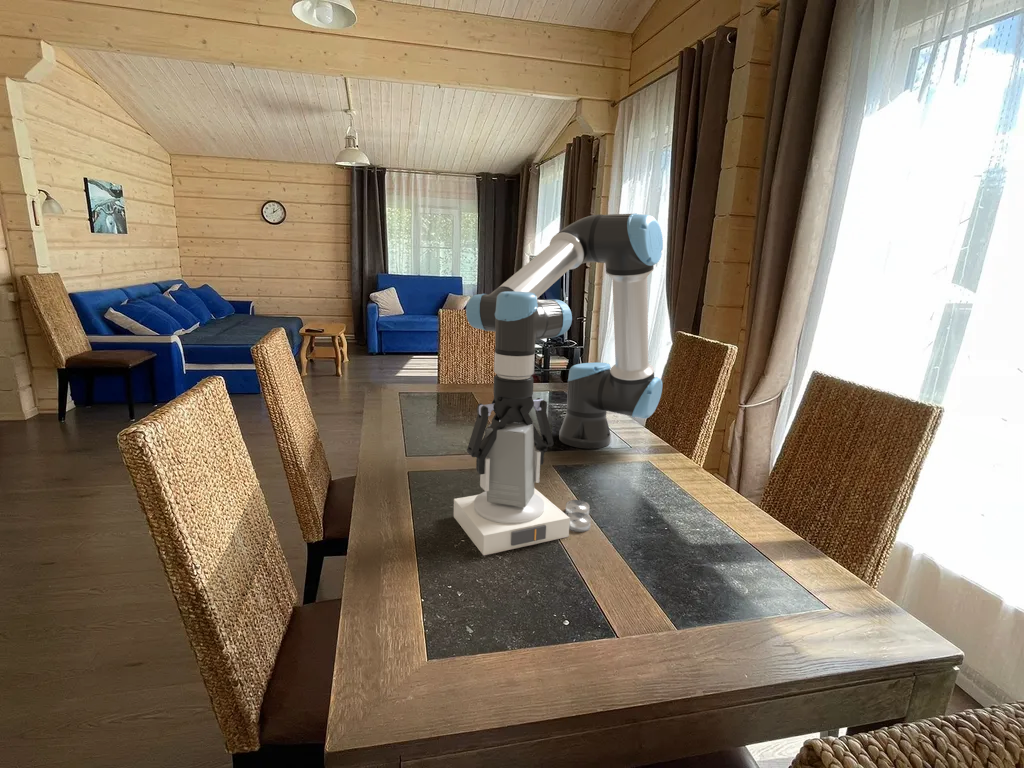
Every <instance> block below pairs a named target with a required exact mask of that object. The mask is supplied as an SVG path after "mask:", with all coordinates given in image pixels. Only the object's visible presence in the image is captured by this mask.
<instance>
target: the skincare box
mask: <svg viewBox="0 0 1024 768" xmlns="http://www.w3.org/2000/svg"><path fill="white" fill-rule="evenodd" d="M499 422H500V420H499ZM532 423H533V424H529V425H527V424H525V423H523V422H522V423H515V422H514V423H512V424H506V425H505V427H504V428H503V429H500V430H497V438H496V440H495V442H494V444H493V446H492V447H491V449H490V451H489V453H488V454H487V457H488V458H489V459H490V473H489V491H487V502H492V503H498V504H505V505H512V506H518V507H526V505H527V504H528V502H529V501H530V499H531V498H532V496H533V494H534V488H535V482H534V447H535V445H534V431H533V425H534V426H535V423H534V422H532ZM490 425H491V424H489V425H488V426H486V428H485V432H484V436H485V438H486V437H487V436H488V435H489V434H490V433H491V432H492V431H493V429H492V428H491V427H490Z"/></svg>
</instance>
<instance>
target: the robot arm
mask: <svg viewBox="0 0 1024 768" xmlns="http://www.w3.org/2000/svg"><path fill="white" fill-rule="evenodd" d="M549 241H550V242H549V244H548V246H547V247H545V248H544V249H543V250H542V251H541V252H539V253H538V254H537V255H536V256H535V257H534V258H532V259H531V260H530V261H528V263H525V265H523V266H522V267H521V268H520V269H518V271H516V272H515V273H514V274H513V275H511V276H510V277H509V278H508V279H507V280H506V281H504V282H503V283H502V284H501V285H500V286H498V287H497V288H496V289H494V290H493V291H492V292H491V293H489V294H487V293H480V294H479V293H478V294H474V295H472V296H471V297H470V298H469V300H468V302H467V304H466V306H465V307H466V308H465V314H466V319H467V322H468V324H469V325H470V326H471V327H472V328H474V329H478V330H482V331H485V332H494V333H495V335H494V336H495V337H494V338H495V339H494V341H495V342H494V344H495V346H494V363H493V364H494V365H493V367H494V369H493V372H494V373H495V375H494V376H493V399H492V402H491V403H487V404H483V403H478V404H477V406H476V407H477V409H476V411H477V413H476V414H477V416H476V419H475V422H474V425H473V429H472V432H471V436H470V437H469V438H470V439H469V442H468V444H467V449H466V452H467V453H468V454H469V455H470V456H471V457H472V458H476V459H475V460H476V461H475V463H476V469H475V471H476V472H477V473H478V475H479V477H480V481H479V486H480V488H481V489H482V490H484V491H483V492H485V491H489V473H490V459H489V458H488V457H487V454H488V453H489V451H490V449H491V447H492V446H493V444H494V442H495V440H496V438H497V430H500V429H503V428H504V427H505V425H506V424H512V423H514V422H515V423H522V422H523V423H525V424H527V425H529V424H533V423H534V422H533V419H532V418H531V416H530V413H531V410H532V409H534V410H535V416H536V420H537V424H538V429H539V432H540V434H539V432H538V430H537V428H536V426H535V424H534V425H533V431H534V484H537V483H538V484H539V483H540V476H541V474H540V473H541V472H540V471H541V466H543V464H544V462H545V461H544V459H545V453H546V452H547V451H548V448H549V447H550V448H551V447H553V446H554V438H553V434H552V430H551V427H550V423H549V417H548V414H547V410H548V409H547V408H548V407H547V406H548V402H547V401H546V400H544V399H543V398H541V397H537V398H536V399H533V395H534V377H533V376H532V375H534V374H535V354H536V352H535V351H536V350H535V349H536V341H538V340H544V339H545V340H546V339H550V338H551V339H554V338H556V337H559V336H562V335H564V334H565V333H567V331H569V329H570V327H571V325H572V324H573V323H572V321H573V316H572V315H573V314H572V313H573V312H572V311H571V309H570V307H569V305H568V304H567V303H566V302H564V301H562V300H560V299H553V298H548V299H539V297H540V296H542V295H543V294H544V293H545V292H546V291H547V290H548V289H550V287H552V286H553V284H555V283H556V282H557V281H558V280H559V279H561V277H562V276H564V275H565V274H566V273H567V272H568V271H569V270H575V269H576V268H578V267H580V266H581V265H582V264H586V263H600V264H605V273H606V274H607V276H608V277H610V278H611V280H612V306H613V307H612V308H613V328H614V329H613V331H614V332H613V335H614V356H615V357H614V358H615V359H614V360H615V362H614V363H615V364H614V365H612V366H611V365H610V363H607V362H584V363H583V362H582V363H577V364H574V365H572V366H571V367H570V368H569V371H568V379H567V398H566V414H565V416H564V418H563V421H562V425H561V426H560V429H559V433H558V435H559V436H558V438H559V441H560V442H561V443H562V444H564V445H567V446H570V447H574V448H580V449H590V450H591V449H593V450H594V449H601V448H604V447H607V446H609V445H610V443H611V438H612V436H611V432H610V428H609V427H610V426H609V423H608V420H607V419H608V418H607V412H609V413H614V414H618V415H619V414H620V415H623V416H629V417H631V418H633V419H634V418H640V419H648V418H650V417H651V416H652V415H653V414H654V413H655V411H656V410H657V407H658V405H659V403H660V399H661V397H662V393H663V381H662V379H661V378H659V377H658V376H655V369H654V368H655V367H654V366H653V365H651V363H649V332H648V331H649V329H648V328H649V325H648V323H649V322H648V321H649V319H648V318H649V314H648V313H649V312H648V311H649V309H648V308H649V307H648V305H649V302H648V301H649V300H648V277H649V275H651V273H652V272H654V266H655V265H656V264H658V263H659V262H660V260H661V258H662V255H663V253H662V251H663V249H664V248H663V247H664V240H663V233H662V228H661V226H660V224H659V222H658V221H657V219H656V218H655V217H654V216H652V215H650V214H639V213H635V212H634V213H617V214H616V213H615V214H614V213H612V214H592V215H588V216H586V217H583V218H580V219H578V220H576V221H574V222H572V223H570V224H568V225H567V226H566V227H564V228H561V230H560V231H558V232H557V233H555V235H553V236H552V238H551V239H550V240H549ZM492 412H493V413H494V416H493V417H492V419H491V423H490V424H489V425H490V427H491V428H492V429H493V431H492V432H491V433H490V434H489V435H488V436H487V437H486V438H485V429H486V428H487V425H488V421H489V417H490V416H491V413H492ZM499 420H500V422H499Z"/></svg>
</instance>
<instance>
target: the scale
mask: <svg viewBox="0 0 1024 768" xmlns="http://www.w3.org/2000/svg"><path fill="white" fill-rule="evenodd" d="M453 518H454V519H455V521H456V522H457V523H458V525H460V526H461V528H462V529H463V531H464V532H465V534H466V535H467V536H468V537H469V540H471V542H472V543H473V544H474V545H475V547H477V549H478V550H479V551H480V554H482V556H488V555H492V554H496V553H501V552H506V551H509V550H514V549H519V548H523V547H528V546H533V545H537V544H541V543H542V544H543V543H546V542H550V541H551V542H552V541H554V540H559V539H563V538H564V539H565V538H568V537H570V530H569V524H570V518H569V517H568V516H567V514H566V512H564V511H563V510H561V509H560V508H559V507H558V506H556V505H555V504H554V503H553V502H552V501H550V499H548V498H547V497H546V496H545V495H544V494H542V492H540V491H539V490H538V489H536V488H535V487H534V494H533V496H532V498H531V499H530V501H529V502H528V504H527V505H526V507H518V506H512V505H505V504H498V503H492V502H487V491H482V492H481V493H479V494H475V495H469V496H463V497H456V498H453Z"/></svg>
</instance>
